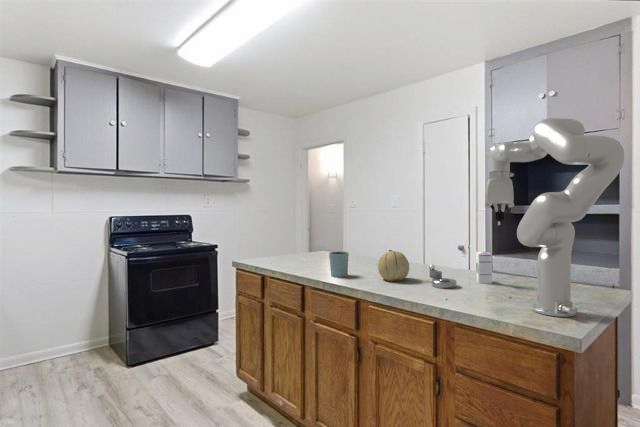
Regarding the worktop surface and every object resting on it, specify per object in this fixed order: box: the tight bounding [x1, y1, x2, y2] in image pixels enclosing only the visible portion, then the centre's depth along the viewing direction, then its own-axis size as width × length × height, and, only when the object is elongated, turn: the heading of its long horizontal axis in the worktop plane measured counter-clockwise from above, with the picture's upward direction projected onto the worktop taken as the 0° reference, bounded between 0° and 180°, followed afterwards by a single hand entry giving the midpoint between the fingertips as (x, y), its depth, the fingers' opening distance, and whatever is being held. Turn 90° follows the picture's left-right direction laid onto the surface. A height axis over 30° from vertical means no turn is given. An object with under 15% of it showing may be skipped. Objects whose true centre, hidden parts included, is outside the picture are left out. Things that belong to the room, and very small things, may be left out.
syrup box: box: [475, 251, 493, 285], centre depth 169 cm, size 6×6×14 cm
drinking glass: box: [328, 251, 349, 278], centre depth 193 cm, size 10×10×12 cm
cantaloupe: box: [377, 249, 410, 282], centre depth 177 cm, size 15×15×15 cm
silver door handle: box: [428, 263, 457, 290], centre depth 165 cm, size 17×10×8 cm, turn 12°
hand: (499, 221), depth 153 cm, fingers closed
